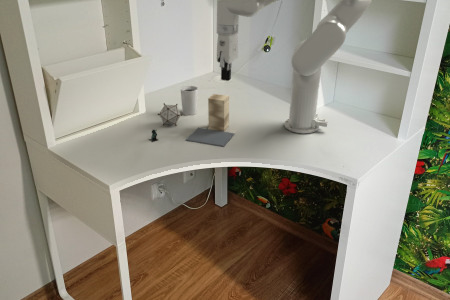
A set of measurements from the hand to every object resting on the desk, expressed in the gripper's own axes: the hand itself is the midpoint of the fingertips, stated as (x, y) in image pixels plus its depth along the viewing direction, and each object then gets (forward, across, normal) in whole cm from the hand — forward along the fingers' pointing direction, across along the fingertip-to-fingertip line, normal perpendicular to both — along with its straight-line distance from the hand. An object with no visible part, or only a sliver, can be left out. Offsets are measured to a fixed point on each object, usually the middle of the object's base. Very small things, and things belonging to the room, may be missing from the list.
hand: (225, 79), depth 159 cm
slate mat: (+16, -17, -1) cm, 23 cm away
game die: (+16, -12, +17) cm, 26 cm away
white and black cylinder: (+16, +1, +15) cm, 22 cm away
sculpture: (+17, -26, +17) cm, 35 cm away
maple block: (+16, -9, -1) cm, 18 cm away
